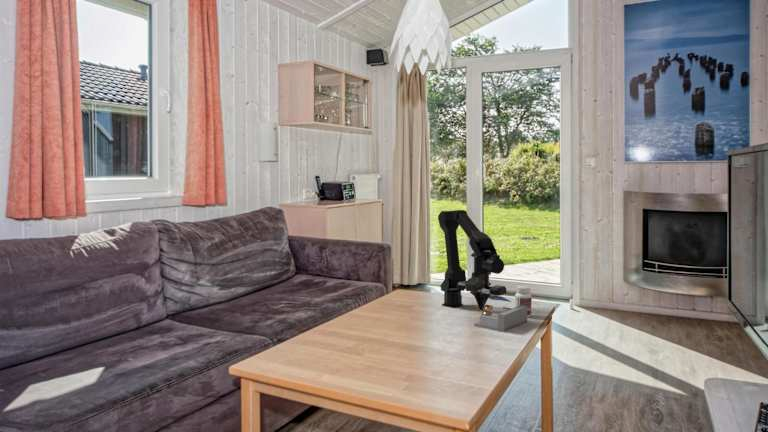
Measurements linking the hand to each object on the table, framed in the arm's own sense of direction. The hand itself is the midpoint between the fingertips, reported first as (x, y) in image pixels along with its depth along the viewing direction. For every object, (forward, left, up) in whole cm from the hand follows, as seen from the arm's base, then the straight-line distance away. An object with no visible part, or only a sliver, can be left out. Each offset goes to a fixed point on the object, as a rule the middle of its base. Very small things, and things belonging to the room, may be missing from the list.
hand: (481, 310), depth 214 cm
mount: (+11, -4, -3) cm, 12 cm away
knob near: (+10, -8, -1) cm, 13 cm away
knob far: (+6, 0, -1) cm, 6 cm away
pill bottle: (+11, +12, -3) cm, 17 cm away
